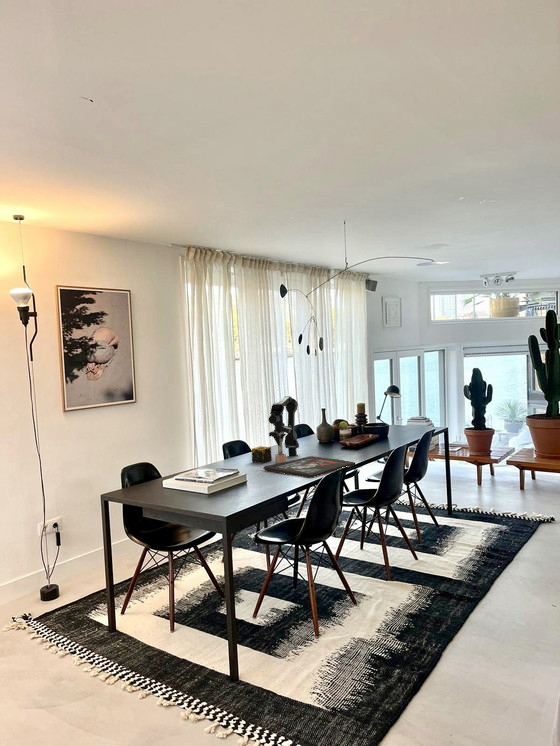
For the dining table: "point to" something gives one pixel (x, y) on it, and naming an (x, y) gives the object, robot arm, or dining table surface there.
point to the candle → (261, 454)
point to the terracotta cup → (280, 458)
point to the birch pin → (280, 448)
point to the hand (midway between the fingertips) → (279, 445)
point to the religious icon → (309, 466)
